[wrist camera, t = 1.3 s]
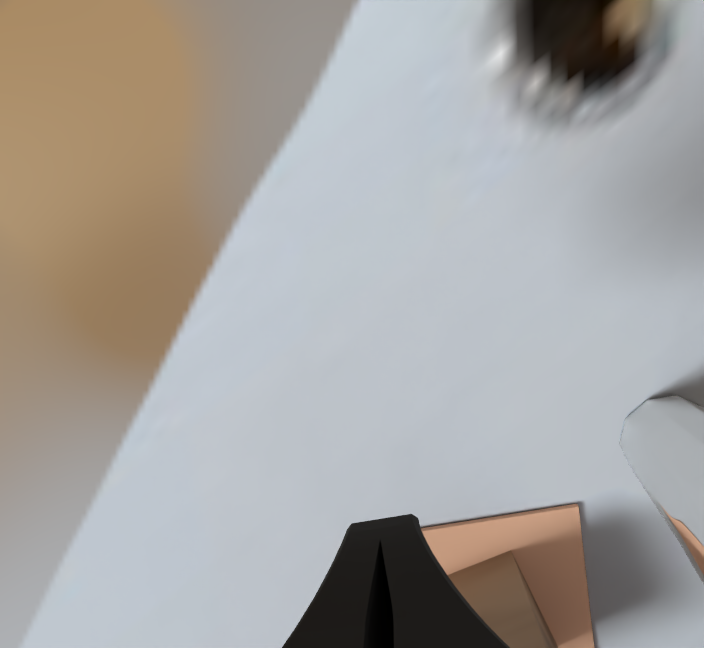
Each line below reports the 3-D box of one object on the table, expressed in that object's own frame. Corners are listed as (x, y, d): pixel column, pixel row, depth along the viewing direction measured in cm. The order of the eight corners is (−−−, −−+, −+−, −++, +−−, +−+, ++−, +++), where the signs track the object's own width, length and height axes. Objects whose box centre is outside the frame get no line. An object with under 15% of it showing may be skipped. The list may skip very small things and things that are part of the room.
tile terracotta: (597, 690, 26) (599, 693, 26) (386, 718, 27) (386, 723, 26) (576, 503, 24) (578, 506, 23) (344, 540, 24) (344, 543, 24)
